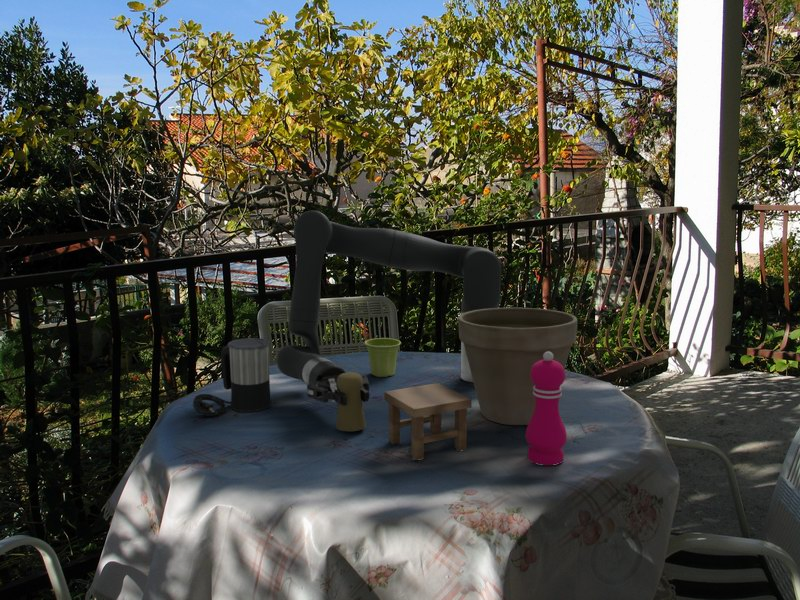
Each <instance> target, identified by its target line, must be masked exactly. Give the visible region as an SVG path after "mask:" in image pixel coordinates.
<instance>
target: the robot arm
mask: <svg viewBox="0 0 800 600" xmlns="http://www.w3.org/2000/svg"><path fill="white" fill-rule="evenodd" d="M293 234H294V238H295V239H294V240H295V269H294V270H295V273H294V280H293V285H292V287H293V288H292V294H291V299H290V309H289V316H288V317H289V318H288V329H287V330H288V332H289V333H290V334H291V335H294V336H297V337H299V338H302V339H303V341H304V343H305V344H304V345H296V344H295V345H294V344H288V345H284V346H282V347H281V348H280V349H279V350H278V352H277V354H276V366H277V368H278V370H279V371H280V372H281V374H283V375H284V376H287V377H289V378H292V379H296V380H299V381H302V382H303V383H304V384H305V385H306V390H307V391H306V393H307V394H306V395H307V398H310V399H313V400H316V401H319V402H322V403H328V402H329V400H330V401H331V402H333V403H336V404H337V405H338V404H341V405H342V406H345V405H347V396H346V394H344V393H343V392H341V391H340V390H339V388H338V386H337V378H338V376H339V375H341V374H342V373H347V371H346V370H344V369H343V367H342V366H340V365H338V364H336V363H334V362H333V361H331V360H329V359H328V358H325V357H323V356H322V354H321V353H322V352H321V346H320V340H319V332H318V328H319V327H318V326H319V318H320V309H321V308H320V306H321V281H322V269H323V262H324V257H325V254H333V255H341V256H346V257H348V256H349V257H351V258H355V259H359V260H362V261H365V262H368V263H371V264H372V263H373V264H376V265H381V266H384V267H388V268H395V269H399V270H405V271H415V272H438V273H443V274H448V275H451V276H454V277H458V278H461V279H463V282H462V285H463V290H462V291H463V293H462V294H463V295H462V301H461V314H463V313H465V312H469V311H473V310H480V309H489V308H500V307H499V306H500V303H501V294H502V293H501V290H502V289H501V287H502V266H501V265H502V264H501V260H500V259H499V257H498V256H497V255H496V254H495V252H493V251H491V250H490V249H487V248H485V247H483V246H482V247H480V246H464V245H457V244H449V243H444V242H441V241H437V240H434V239H432V238H429V237H425V236H423V235H419V234H415V233H413V232H412V233H411V232H408V231H402V230H397V229H392V228H384V227H383V228H381V227H354V226H348V225H345V224H340V223H337V222H334V221H330V220H329V218H328V217H327V216H326V215H325V214H324V213H322V212H321V211H318V210H312V209H311V210H307V211H305V212H303V213H302V214H300V215H299V216H298V217H297V219H296V220H295V222H294V224H293ZM460 341H461V340H460ZM460 346H461V347H460V348H461V349H460V351H461V353H460V358H461V359H460V362H461V363H460V364H461V365H460V368H461V369H460V373H461V374H460V378H461V379H462V381H465V382H469V383H474V382H473V378H472V374H471V370H470V366H469V362H468V358H467V355H466V350H465V346H464V343H463V342H462V341H461V344H460ZM361 377H362V380H363V385H362V387H361V389H360V392H361V399H362V403H363V402H364V403H367V402H369V399H370V382H369V379H368V376H367V375H361Z"/></svg>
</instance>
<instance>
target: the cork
mask: <svg viewBox="0 0 800 600" xmlns="http://www.w3.org/2000/svg"><path fill="white" fill-rule="evenodd" d="M361 376H362V375H361V374H360V373H358V372H354V371H353V372H351V371H350V372H347V371H346V373H342V374H341V375H339V376H338V378H337V386H338V388H339V390H340V391H341V392H343V393H344V394H346V396H347V405H345V406H342V405H341V404H338V403H337V405H338V406H337V416H336V425H335V426H336V427H335V428H336V429H338V430H339V431H342V432H356V431H361V430H364V428H366V427H367V424H366V418H365V411H364V407H363V406H364V405H363V401H362V399H361V392H360V389H361V387H362V385H363V380H362V377H361Z"/></svg>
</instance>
